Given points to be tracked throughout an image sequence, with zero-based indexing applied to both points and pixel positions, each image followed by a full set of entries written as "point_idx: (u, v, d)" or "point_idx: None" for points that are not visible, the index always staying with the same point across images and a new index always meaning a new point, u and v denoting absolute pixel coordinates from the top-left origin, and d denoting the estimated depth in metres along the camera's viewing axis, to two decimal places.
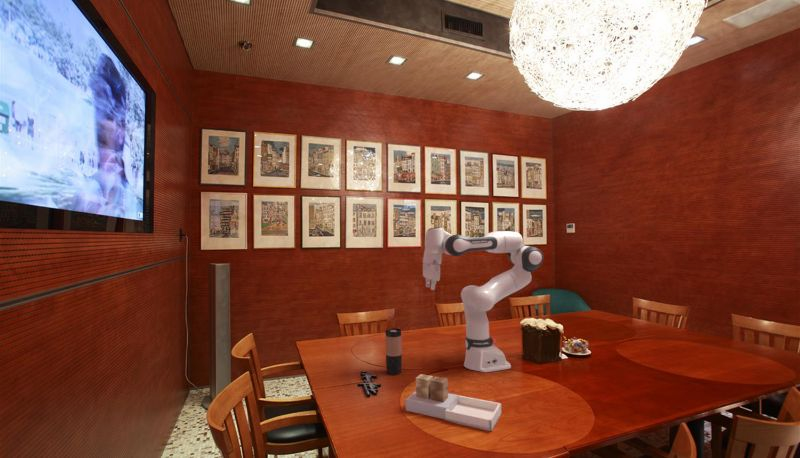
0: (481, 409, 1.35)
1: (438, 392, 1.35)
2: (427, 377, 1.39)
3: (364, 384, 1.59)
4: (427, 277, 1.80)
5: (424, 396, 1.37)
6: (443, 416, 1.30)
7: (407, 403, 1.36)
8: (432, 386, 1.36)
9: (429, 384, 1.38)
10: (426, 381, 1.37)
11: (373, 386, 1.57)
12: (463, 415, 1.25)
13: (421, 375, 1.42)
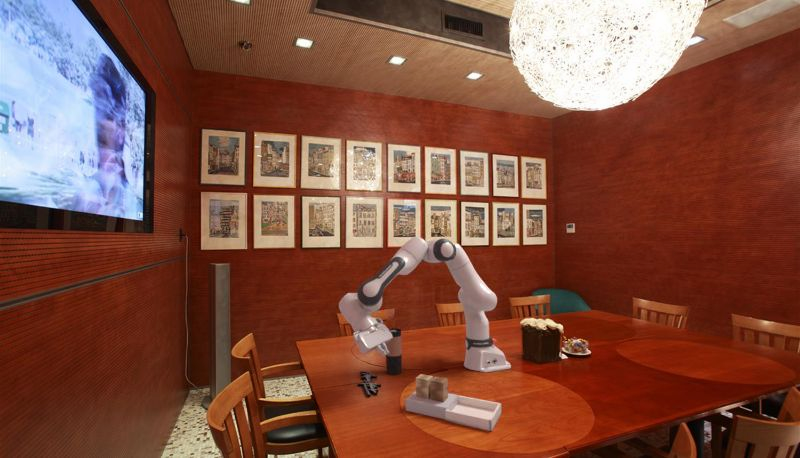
0: (481, 409, 1.35)
1: (438, 392, 1.35)
2: (427, 377, 1.39)
3: (364, 384, 1.59)
4: None
5: (424, 396, 1.37)
6: (443, 416, 1.30)
7: (407, 403, 1.36)
8: (432, 386, 1.36)
9: (429, 384, 1.38)
10: (426, 381, 1.37)
11: (373, 386, 1.57)
12: (463, 415, 1.25)
13: (421, 375, 1.42)
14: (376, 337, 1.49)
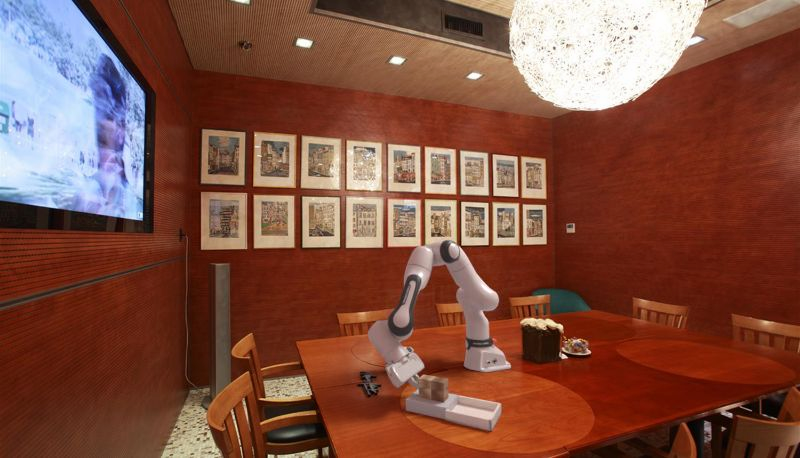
0: (481, 409, 1.35)
1: (438, 392, 1.35)
2: (430, 378, 1.39)
3: (364, 384, 1.59)
4: None
5: (427, 397, 1.37)
6: (443, 416, 1.30)
7: (407, 403, 1.36)
8: (432, 386, 1.36)
9: None
10: (429, 382, 1.37)
11: (373, 386, 1.57)
12: (463, 415, 1.25)
13: (424, 376, 1.41)
14: (409, 369, 1.42)
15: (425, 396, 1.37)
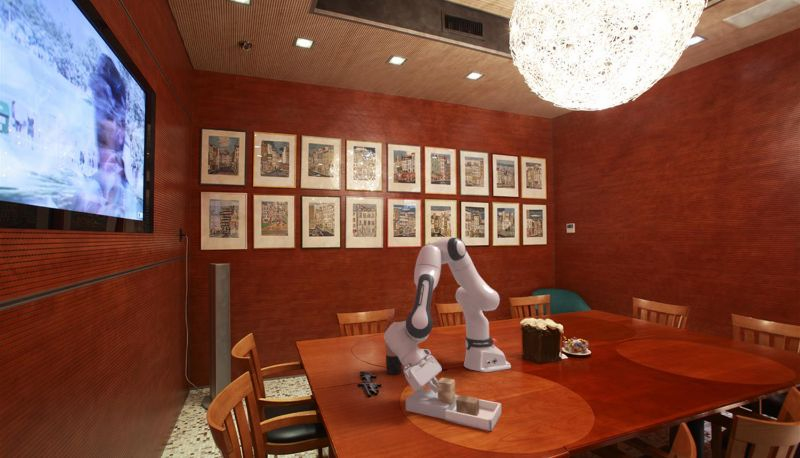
0: (481, 409, 1.35)
1: (465, 410, 1.30)
2: (449, 381, 1.35)
3: (364, 384, 1.59)
4: None
5: (446, 400, 1.33)
6: (443, 416, 1.30)
7: (407, 403, 1.36)
8: (470, 404, 1.29)
9: (451, 388, 1.33)
10: (448, 385, 1.33)
11: (373, 386, 1.57)
12: (463, 415, 1.25)
13: (442, 379, 1.37)
14: (427, 372, 1.39)
15: (444, 400, 1.33)
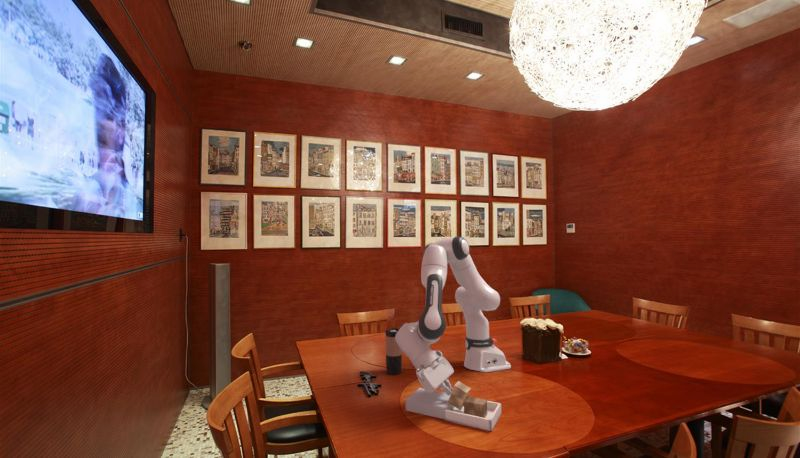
0: None
1: (472, 411, 1.29)
2: (465, 388, 1.32)
3: (364, 384, 1.59)
4: None
5: (456, 405, 1.31)
6: (443, 416, 1.30)
7: (407, 403, 1.36)
8: (477, 406, 1.28)
9: (465, 396, 1.31)
10: (464, 393, 1.30)
11: (373, 386, 1.57)
12: (463, 415, 1.25)
13: (459, 383, 1.34)
14: (440, 374, 1.36)
15: (455, 404, 1.32)
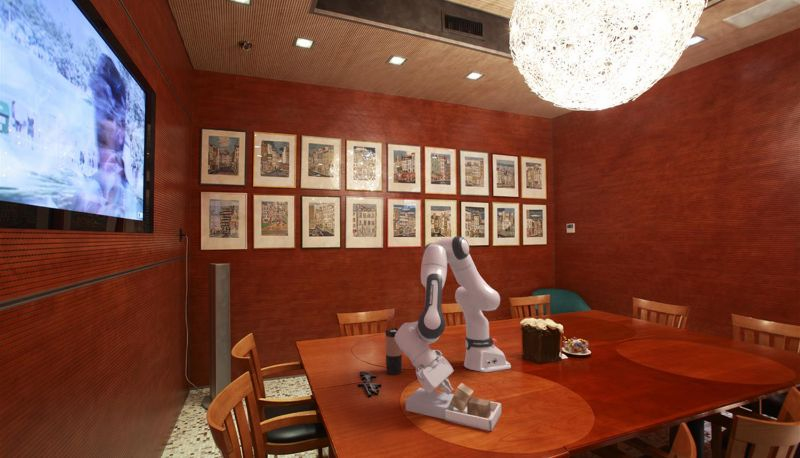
0: None
1: (476, 412, 1.28)
2: (468, 391, 1.32)
3: (364, 384, 1.59)
4: None
5: (458, 407, 1.31)
6: (443, 416, 1.30)
7: (407, 403, 1.36)
8: (481, 406, 1.27)
9: (468, 399, 1.30)
10: (467, 396, 1.29)
11: (373, 386, 1.57)
12: (463, 415, 1.25)
13: (462, 385, 1.34)
14: (439, 373, 1.36)
15: (457, 406, 1.31)
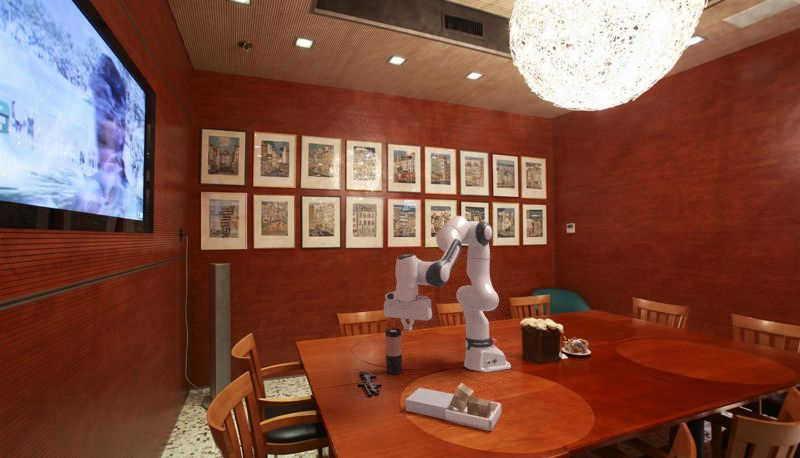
0: None
1: (476, 412, 1.28)
2: (468, 391, 1.32)
3: (364, 384, 1.59)
4: (405, 317, 1.46)
5: (458, 407, 1.31)
6: (443, 416, 1.30)
7: (407, 403, 1.36)
8: (481, 406, 1.27)
9: (468, 399, 1.30)
10: (467, 396, 1.29)
11: (374, 386, 1.57)
12: (463, 415, 1.25)
13: (462, 385, 1.34)
14: None
15: (457, 406, 1.31)
